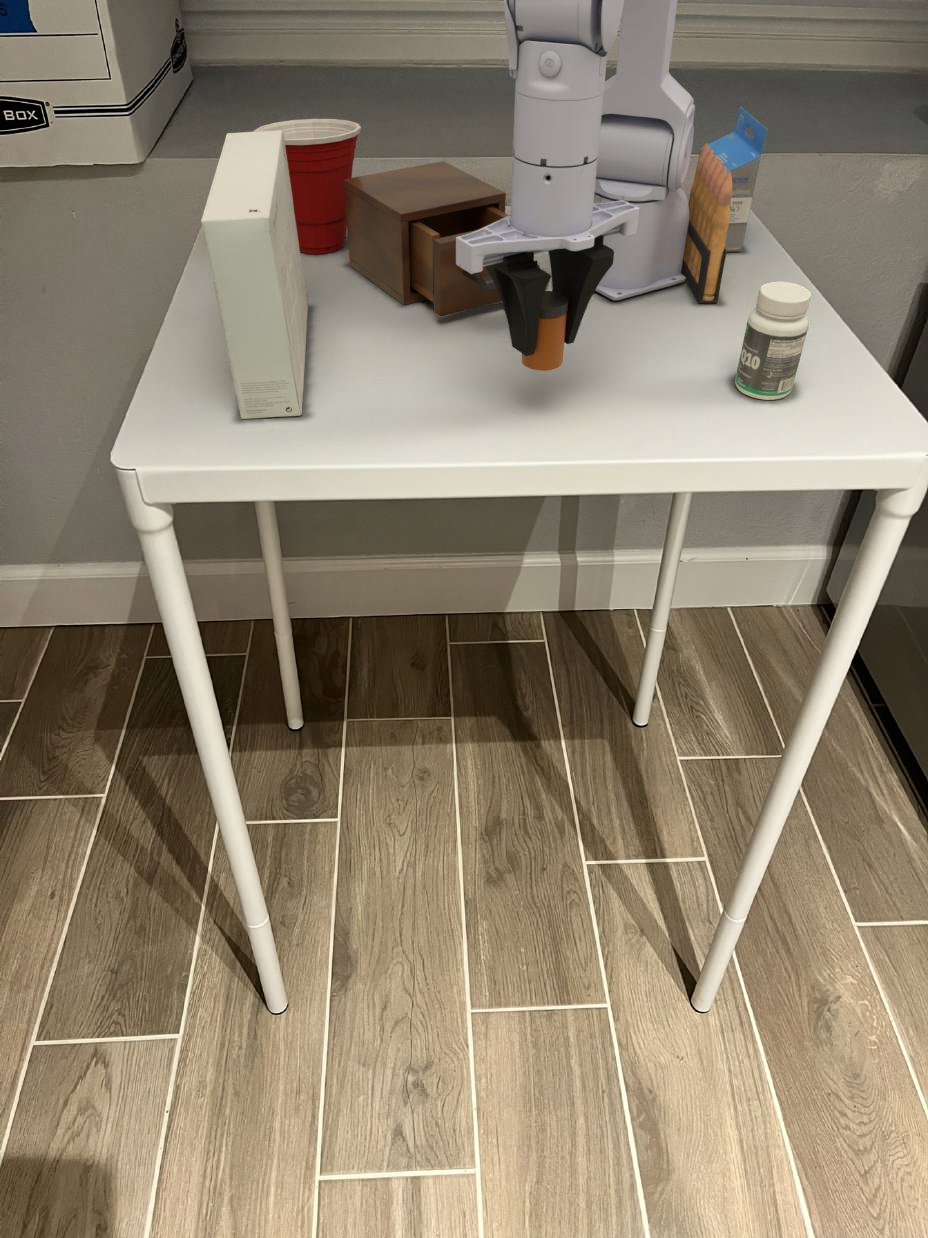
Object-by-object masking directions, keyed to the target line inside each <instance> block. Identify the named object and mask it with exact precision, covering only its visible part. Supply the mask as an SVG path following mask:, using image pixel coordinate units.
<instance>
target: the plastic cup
mask: <svg viewBox="0 0 928 1238" xmlns="http://www.w3.org/2000/svg"><path fill="white" fill-rule="evenodd" d="M361 129H362V127H361V125H360V124H359V123H358V122H354V121H352V120H348V119H347V120H346V119H338V118H304V119H303V118H302V119H291V120H283V121H277V122H272V123H268V124H265V125H261V126H259V127H258V128H256V129H254V130H253V132H259V131H277V130H282V131H283V134H284V141H285V148H286V155H287V162H288V169H289V176H290V183H291V190H292V197H293V206H294V214H295V221H296V228H297V235H298V242H299V249H300V253H303V254H313V255H321V254H322V255H323V254H329V253H334V252H336V251H338V250H341V249H342V248H343V247H344V246H345V243H346V239H347V220H346V206H345V192H344V179H348V178H353V167H354V166H353V165H354V160H355V151H356V148H357V147H356V146H357V141H358V137H359V134H360V133H361Z"/></svg>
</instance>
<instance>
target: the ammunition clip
mask: <svg viewBox="0 0 928 1238" xmlns="http://www.w3.org/2000/svg"><path fill="white" fill-rule="evenodd" d="M708 144H709V143H708V142H705V143H704V145H703V146H702V147H703V148H702V147H701V148H702V151H701V153H700V152H699V153H700V156H699V155H698V159H699V160H697V163H696V168H695V173H694V178H693V183H692V185H691V188H690V193H689V198H688V204H689V212H690V217H689V225H688V231H687V238H686V244H685V250H684V256H683V263H682V269H681V275H683V276H685V277H686V281H685V282H686V283H687V285H688V287H689V288H690V290H691V292H692V294H693V296H694V298H695V300H696V301H697V303H698V304H718V301H719V297H720V291H721V285H722V284H721V283H722V279H723V275H724V274H723V273H724V268H725V262H726V256H727V253H726V252H727V251H726V249H725V242H726V237H727V231H728V226H729V211H730V202H731V196H732V175H731V172H730V171H728V173H727V169H726V166H725V165H724V166H722V161H721V160H718V158H717V155H716V154H714V155H713V150H712V148H710V149H709V146H708Z"/></svg>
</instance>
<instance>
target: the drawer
mask: <svg viewBox="0 0 928 1238" xmlns="http://www.w3.org/2000/svg"><path fill="white" fill-rule="evenodd" d="M509 215H510V214H508V213H506V212H505V213H504V212H502V211H500V210H498V209H497V208H495V207H493V206H491V205H485V206H480V207H475V208H470V209H465V210H460V211H456V212H451V213H446V214H441V215H436V216H431V217H427V218H422V219H417V220H412V221H408V230H409V263H410V287H412V288H413V289H415V290H416V291H417V292H419V293H420V294H422V295H423V296H425V297H426V298H427V299H426V300H429V301H430V302H431V303H433V312H434V314H435V315H436V316H438V317H440V318H442V317H445V316H450V315H454V314H459V313H462V312H466V311H470V310H474V309H477V308H482V307H485V306H489V305H493V304H496V303H500V302H501V303H502V301H501V298H500V296H499V293H498V291H497V288H496V286H495V284H494V282H493V280H492V278H491V276H490V274H489V272H488V270H487V268H486V266H484V267H483V270H482V271H481V272H477V273H473V274H470V273H469V272H467V271H465V270H464V269H462V268H460V267H459V266H458V265H456V237H458V236H462V235H466V234H469V233H472V232H475V231H477V230H479V229H481V228H483V227H486V226H488V225H490V224H492V223H494V222H496V221H499V220H501V219H503V218H505V217H507V216H509ZM537 267H538V268H540V269H542V267H541V266H540V265H539V264H538V266H537Z"/></svg>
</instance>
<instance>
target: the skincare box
mask: <svg viewBox="0 0 928 1238" xmlns="http://www.w3.org/2000/svg"><path fill="white" fill-rule="evenodd" d="M217 162H218V163H217V165H216V170H215V173H214V176H213V180H212V183H211V187H210V190H209V193H208V196H207V200H206V203H205V206H204V210H203V213H202V216H201V219H200V223H201V228H202V232H203V238H204V242H205V247H206V252H207V257H208V262H209V266H210V272H211V276H212V281H213V287H214V292H215V296H216V302H217V306H218V310H219V317H220V320H221V325H222V330H223V335H224V338H225V339H224V340H225V346H226V349H227V355H228V360H229V366H230V371H231V375H232V380H233V386H234V390H235V395H236V399H237V404H238V409H239V410H238V411H239V415H240V419H241V420H243V419H244V420H245V419H246V420H249V419H262V418H263V419H264V418H278V417H299V416H301V415H302V414H303V397H304V387H305V386H304V385H305V379H304V378H305V369H306V367H305V366H306V349H307V330H308V315H309V314H308V313H309V302H308V295H307V294H308V293H307V289H306V282H305V276H304V270H303V264H302V256H301V252H300V249H299V242H298V235H297V228H296V221H295V214H294V206H293V197H292V190H291V183H290V176H289V169H288V162H287V155H286V148H285V141H284V134H283V131H282V130H277V131H259V132H254V131H243V132H241V131H240V132H227V133H226V135H225V139H224V142H223V145H222V149H221V151H220V156H219V159H218V161H217Z"/></svg>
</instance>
